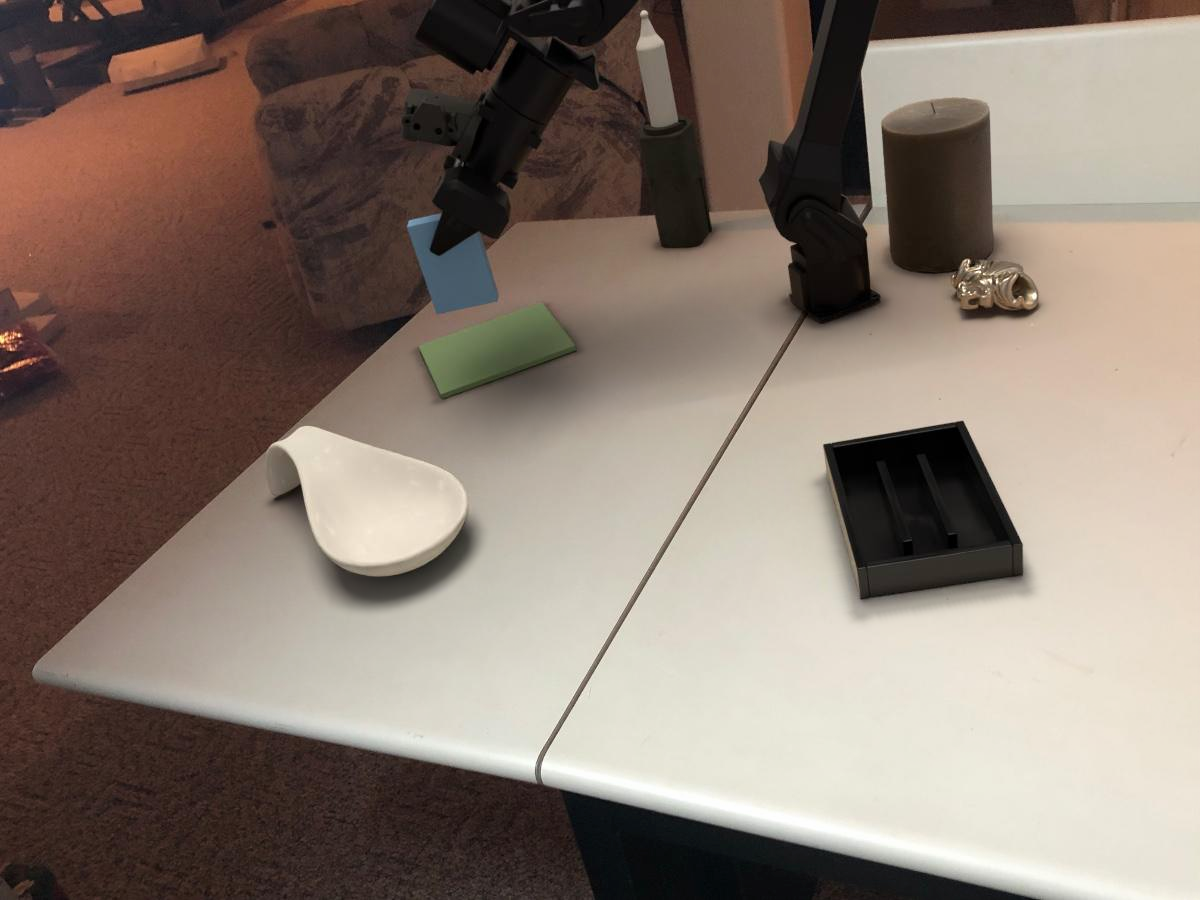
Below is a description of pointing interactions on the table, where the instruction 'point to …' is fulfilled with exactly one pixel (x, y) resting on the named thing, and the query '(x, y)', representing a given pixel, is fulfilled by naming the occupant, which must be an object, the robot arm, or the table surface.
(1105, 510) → the table surface
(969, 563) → the dish rack
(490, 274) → the blue rectangular block
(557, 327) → the mat
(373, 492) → the spoon rest
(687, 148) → the candle
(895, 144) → the pillar candle
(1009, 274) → the ornament
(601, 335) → the table surface
